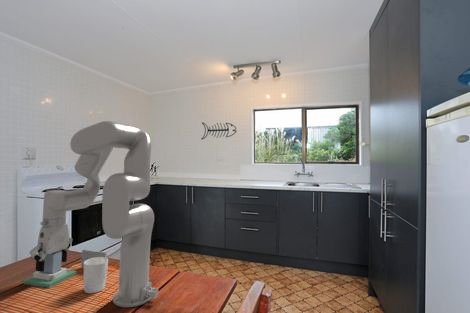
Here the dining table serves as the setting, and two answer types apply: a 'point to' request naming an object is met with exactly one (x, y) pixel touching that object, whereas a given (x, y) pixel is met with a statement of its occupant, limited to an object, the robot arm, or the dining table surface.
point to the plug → (52, 263)
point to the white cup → (95, 274)
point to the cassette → (91, 255)
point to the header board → (49, 278)
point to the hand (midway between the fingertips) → (51, 266)
